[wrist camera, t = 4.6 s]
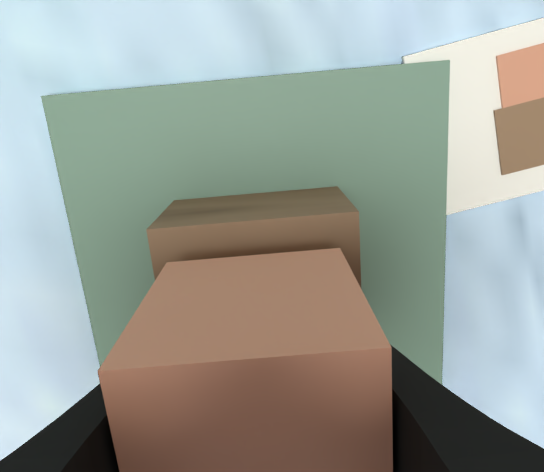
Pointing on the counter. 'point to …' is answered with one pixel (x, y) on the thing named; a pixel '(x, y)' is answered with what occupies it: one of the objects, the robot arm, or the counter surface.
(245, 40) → the counter surface
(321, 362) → the terracotta brick
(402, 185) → the plate
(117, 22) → the counter surface
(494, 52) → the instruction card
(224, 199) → the walnut brick
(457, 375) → the counter surface
